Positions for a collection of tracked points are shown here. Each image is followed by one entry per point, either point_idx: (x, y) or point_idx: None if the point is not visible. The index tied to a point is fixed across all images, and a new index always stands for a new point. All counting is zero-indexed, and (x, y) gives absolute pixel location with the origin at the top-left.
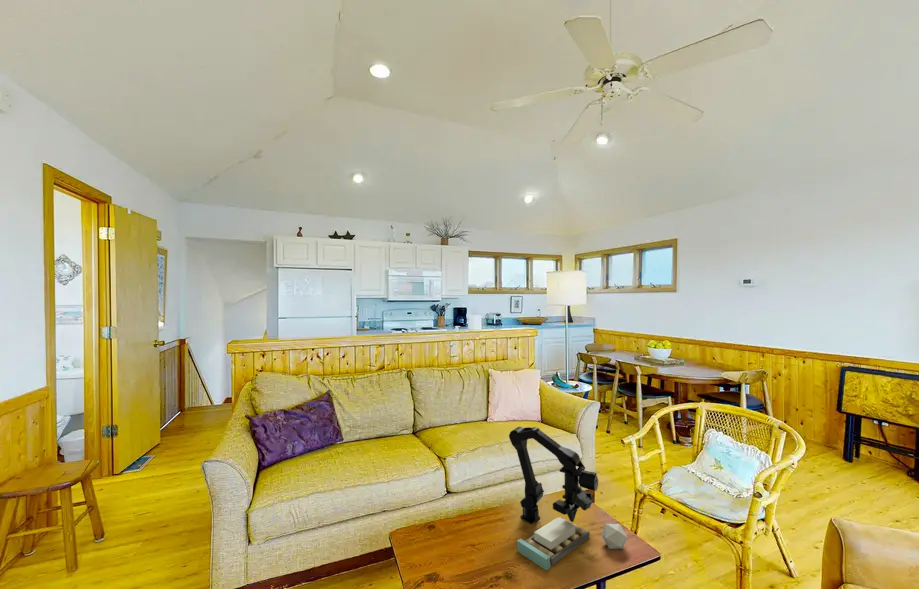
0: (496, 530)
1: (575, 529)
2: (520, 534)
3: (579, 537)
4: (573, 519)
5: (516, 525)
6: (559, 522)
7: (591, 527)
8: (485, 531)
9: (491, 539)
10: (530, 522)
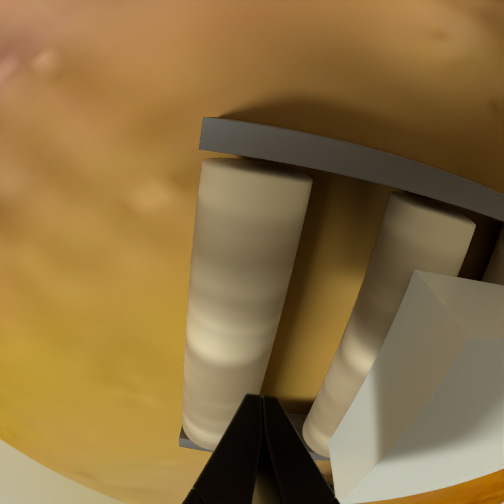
0: (437, 493)
1: (281, 302)
2: None
3: (441, 190)
4: (263, 421)
5: None
6: (448, 462)
7: (38, 192)
8: (451, 495)
9: None
10: (333, 490)
